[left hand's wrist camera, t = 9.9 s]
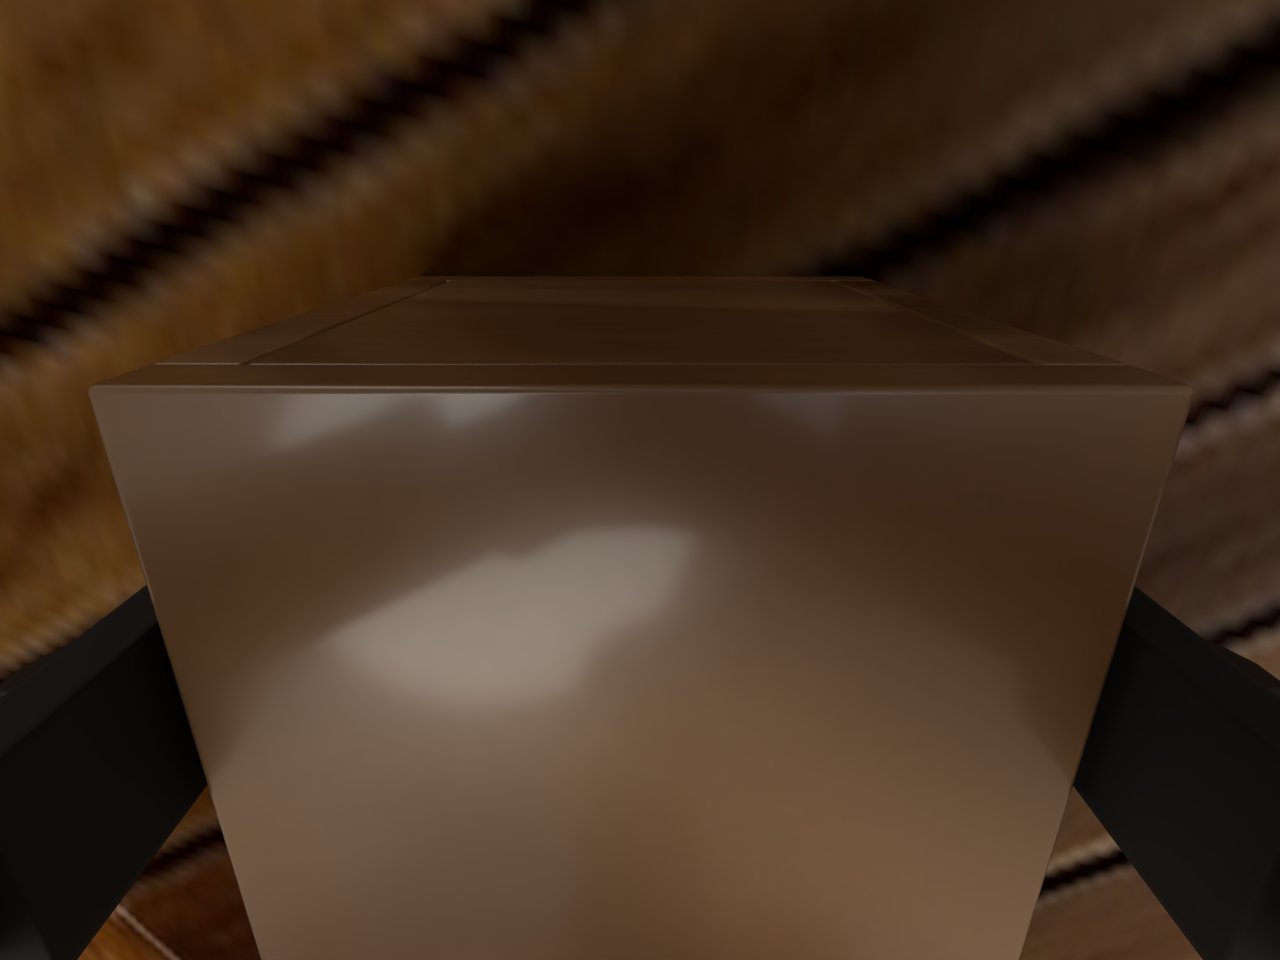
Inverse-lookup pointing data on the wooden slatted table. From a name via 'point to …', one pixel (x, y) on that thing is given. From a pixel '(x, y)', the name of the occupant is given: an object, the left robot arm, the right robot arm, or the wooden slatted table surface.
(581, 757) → the cabinet
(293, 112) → the wooden slatted table surface
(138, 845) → the left robot arm
